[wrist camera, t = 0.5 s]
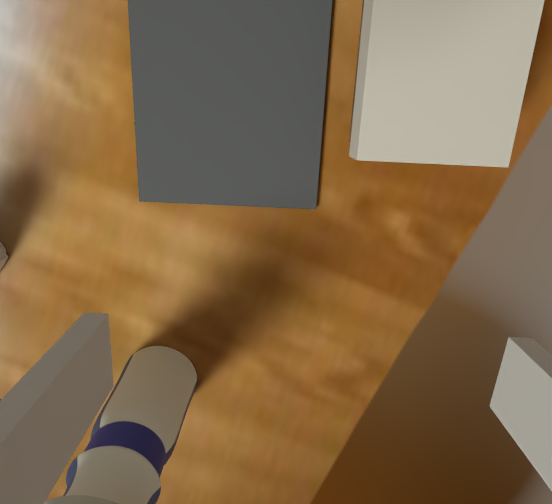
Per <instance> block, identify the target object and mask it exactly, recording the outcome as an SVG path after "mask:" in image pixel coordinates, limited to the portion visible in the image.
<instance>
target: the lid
mask: <svg viewBox="0 0 552 504" xmlns="http://www.w3.org/2000/svg"><path fill="white" fill-rule="evenodd" d="M544 1H545V0H364V8H363V18H362V29H361V39H360V49H359V59H358V69H357V79H356V89H355V100H354V110H353V120H352V130H351V140H350V150H349V156H350V157H352V158H354V159H355V160H363V161H385V162H406V163H427V164H448V165H470V166H491V167H508V166H509V162H510V157H511V152H512V148H513V143H514V139H515V134H516V129H517V125H518V120H519V116H520V111H521V106H522V102H523V97H524V93H525V88H526V83H527V79H528V74H529V70H530V65H531V60H532V56H533V51H534V47H535V42H536V37H537V33H538V28H539V24H540V19H541V14H542V10H543V5H544Z"/></svg>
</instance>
